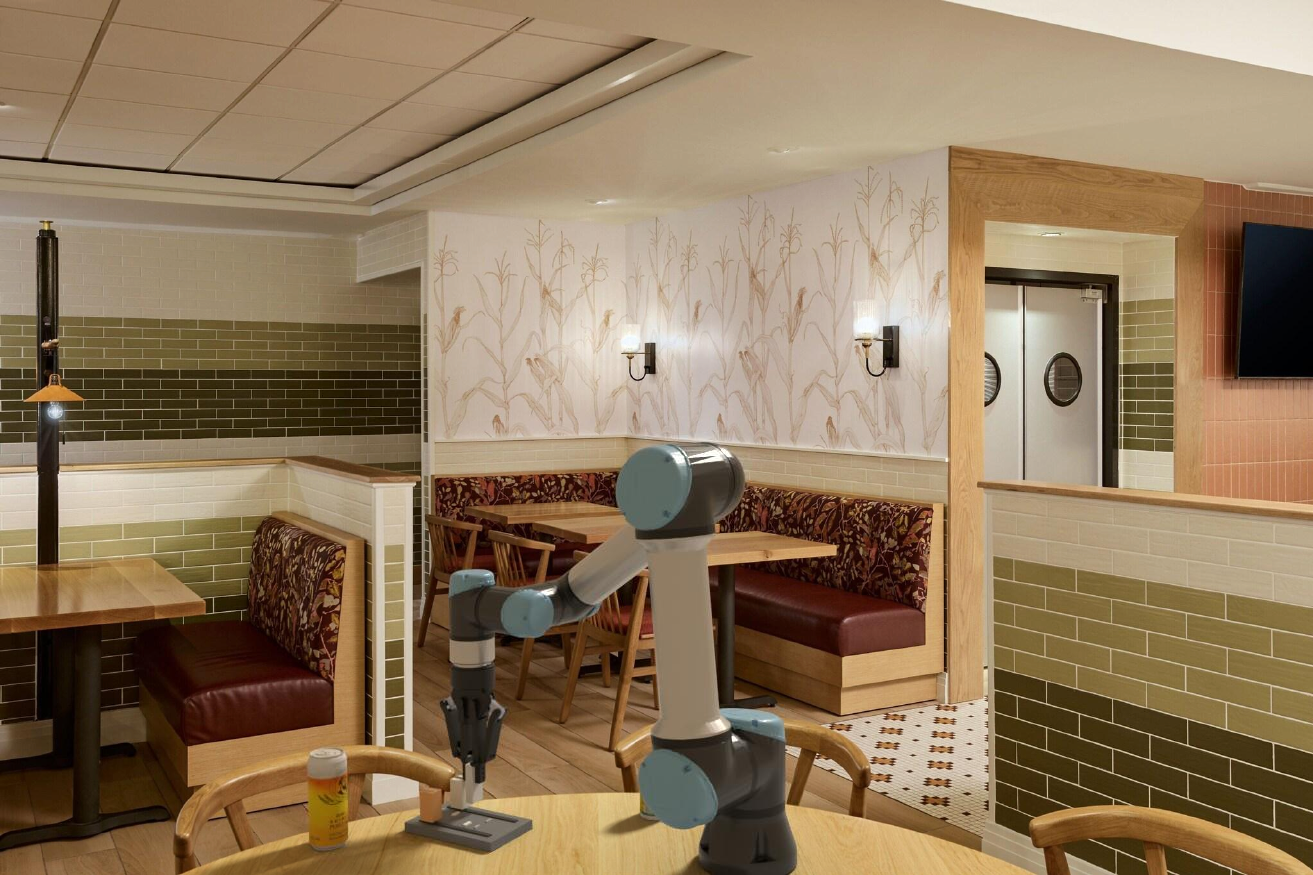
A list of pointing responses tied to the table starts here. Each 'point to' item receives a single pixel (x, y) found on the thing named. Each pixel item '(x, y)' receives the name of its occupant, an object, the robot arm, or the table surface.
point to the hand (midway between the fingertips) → (474, 800)
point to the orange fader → (430, 804)
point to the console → (471, 827)
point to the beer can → (327, 798)
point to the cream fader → (458, 793)
